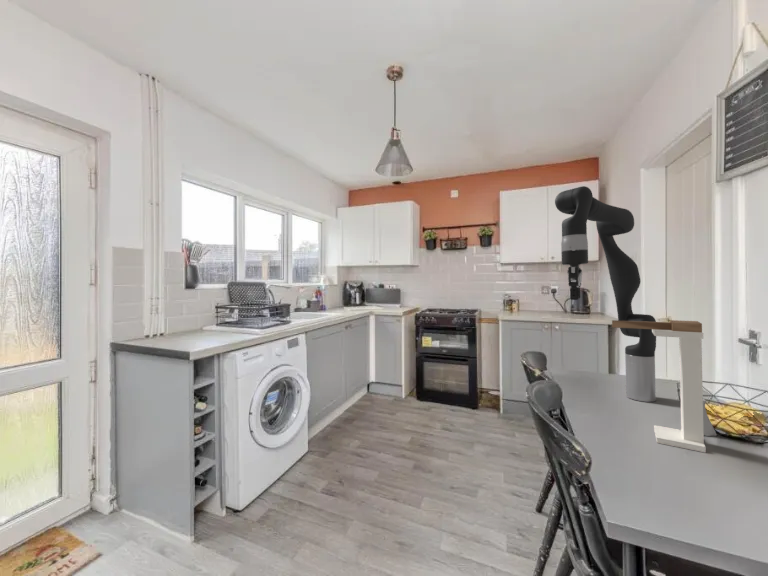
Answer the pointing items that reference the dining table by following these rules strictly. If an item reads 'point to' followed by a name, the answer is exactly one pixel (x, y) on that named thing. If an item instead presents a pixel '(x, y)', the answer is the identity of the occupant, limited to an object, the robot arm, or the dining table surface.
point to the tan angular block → (661, 325)
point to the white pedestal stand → (687, 394)
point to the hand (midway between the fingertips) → (575, 299)
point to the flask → (707, 423)
